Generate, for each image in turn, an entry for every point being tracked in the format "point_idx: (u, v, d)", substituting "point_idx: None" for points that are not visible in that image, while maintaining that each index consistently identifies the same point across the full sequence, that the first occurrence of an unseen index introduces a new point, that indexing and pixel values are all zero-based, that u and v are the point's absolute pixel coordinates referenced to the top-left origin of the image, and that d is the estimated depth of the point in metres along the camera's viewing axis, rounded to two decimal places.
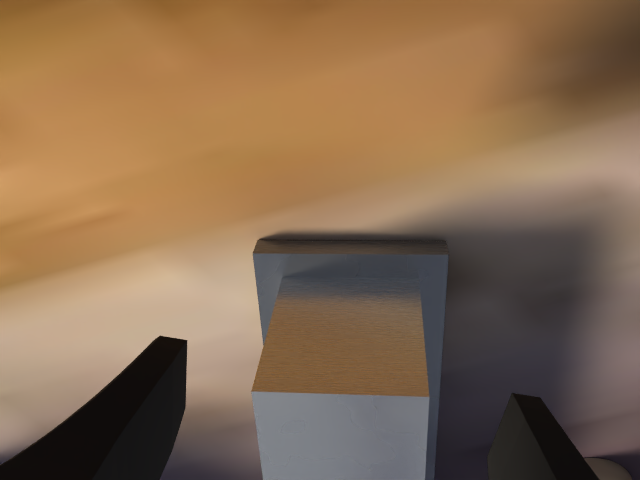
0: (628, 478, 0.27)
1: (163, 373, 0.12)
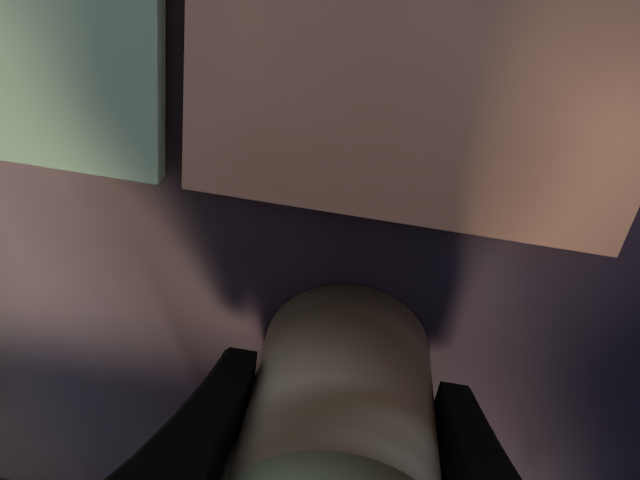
0: (291, 310, 0.14)
1: (241, 386, 0.12)
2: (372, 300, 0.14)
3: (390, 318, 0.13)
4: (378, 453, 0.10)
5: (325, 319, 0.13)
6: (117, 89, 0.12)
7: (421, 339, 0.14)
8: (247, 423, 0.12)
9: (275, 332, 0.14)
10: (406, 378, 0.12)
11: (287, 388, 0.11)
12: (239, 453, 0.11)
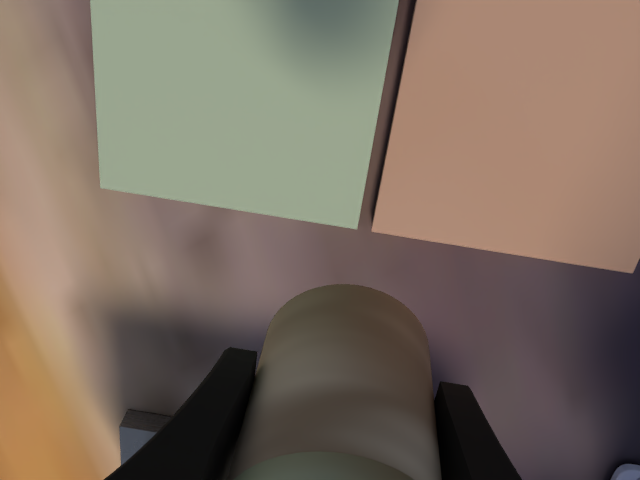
0: (291, 311, 0.14)
1: (241, 385, 0.12)
2: (372, 300, 0.14)
3: (390, 319, 0.13)
4: (378, 454, 0.10)
5: (325, 320, 0.13)
6: (342, 175, 0.20)
7: (421, 339, 0.14)
8: (247, 424, 0.12)
9: (275, 332, 0.14)
10: (406, 379, 0.12)
11: (287, 388, 0.11)
12: (239, 454, 0.11)
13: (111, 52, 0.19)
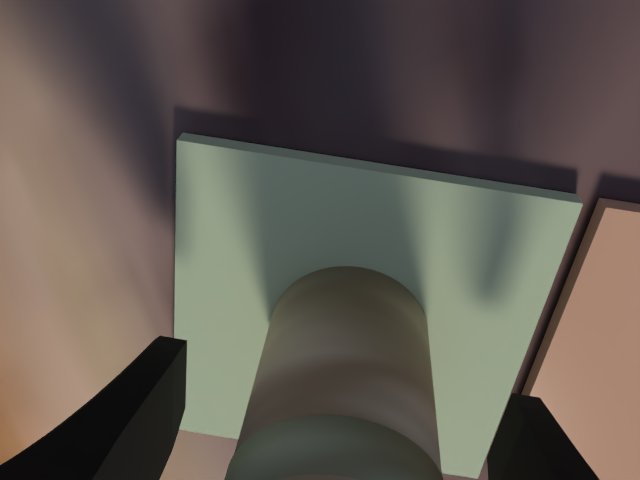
0: (296, 291, 0.14)
1: (163, 373, 0.12)
2: (373, 281, 0.14)
3: (390, 298, 0.14)
4: (380, 418, 0.11)
5: (329, 298, 0.14)
6: (466, 428, 0.17)
7: (420, 318, 0.14)
8: (255, 394, 0.12)
9: (281, 311, 0.14)
10: (405, 352, 0.13)
11: (293, 360, 0.12)
12: (248, 421, 0.12)
13: (197, 301, 0.16)
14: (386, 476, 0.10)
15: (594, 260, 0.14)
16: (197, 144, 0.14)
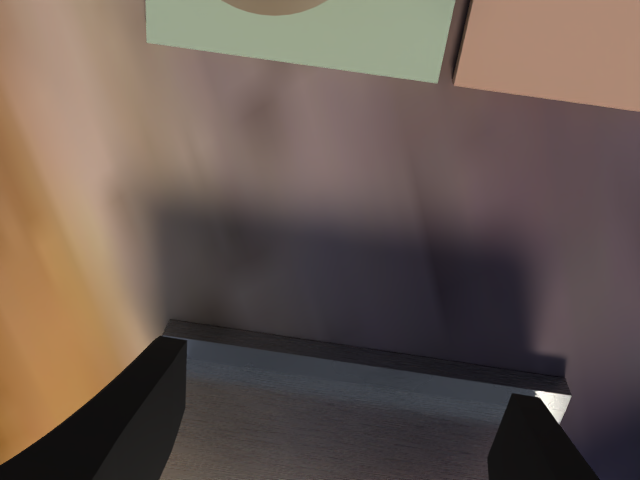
0: None
1: (163, 373, 0.12)
2: None
3: None
4: None
5: None
6: (424, 15, 0.18)
7: None
8: None
9: None
10: None
11: None
12: None
13: None
14: None
15: None
16: None
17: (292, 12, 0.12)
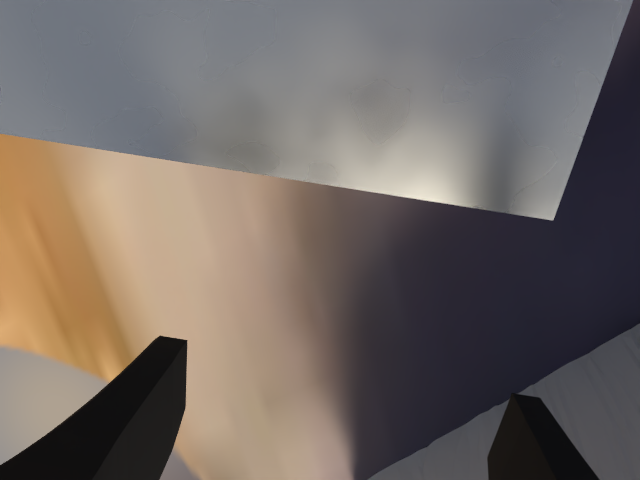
0: None
1: (163, 373, 0.12)
2: None
3: None
4: None
5: None
6: None
7: None
8: None
9: None
10: None
11: None
12: None
13: None
14: None
15: None
16: None
17: None
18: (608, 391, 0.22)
